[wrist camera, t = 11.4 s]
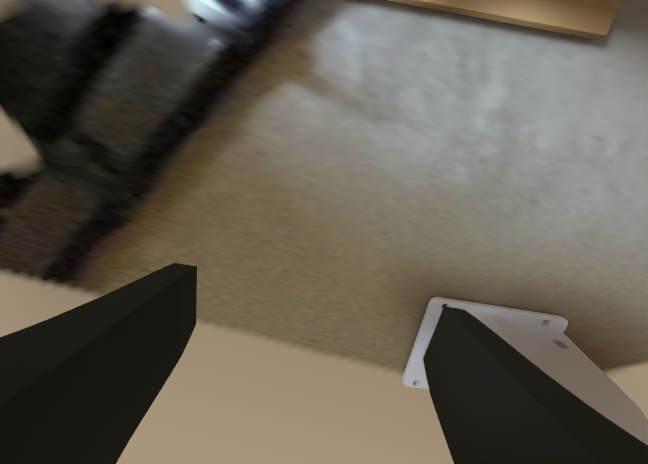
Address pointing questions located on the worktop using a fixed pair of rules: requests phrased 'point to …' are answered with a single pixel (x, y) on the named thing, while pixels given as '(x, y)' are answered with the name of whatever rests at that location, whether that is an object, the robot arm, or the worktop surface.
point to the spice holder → (536, 13)
